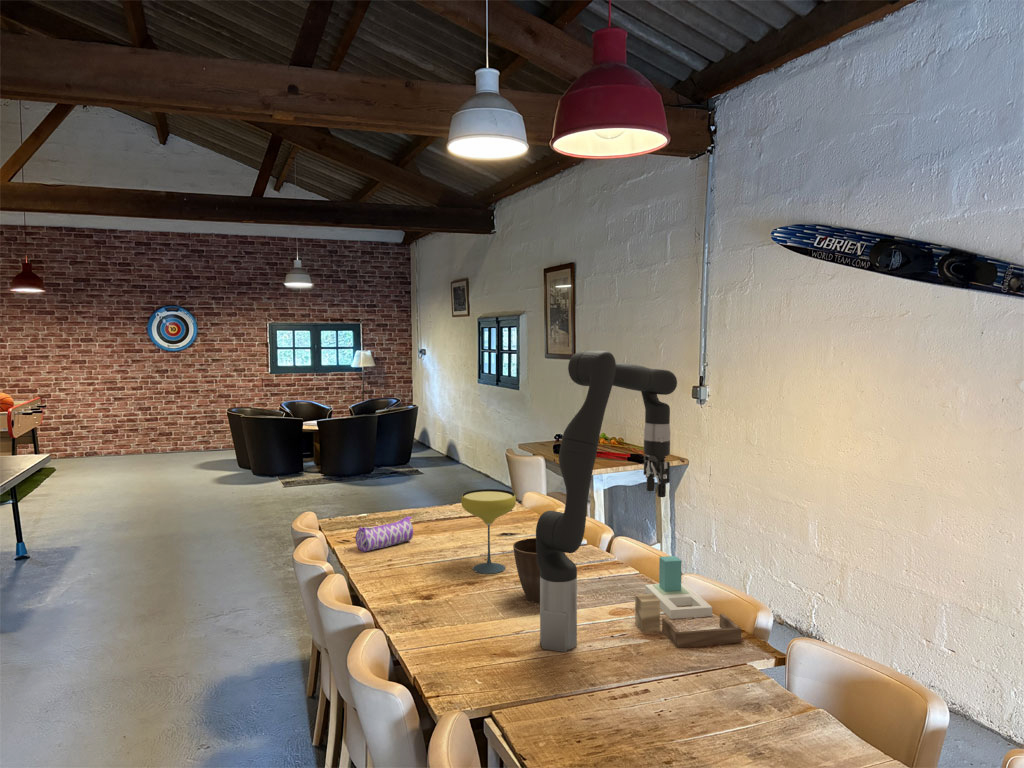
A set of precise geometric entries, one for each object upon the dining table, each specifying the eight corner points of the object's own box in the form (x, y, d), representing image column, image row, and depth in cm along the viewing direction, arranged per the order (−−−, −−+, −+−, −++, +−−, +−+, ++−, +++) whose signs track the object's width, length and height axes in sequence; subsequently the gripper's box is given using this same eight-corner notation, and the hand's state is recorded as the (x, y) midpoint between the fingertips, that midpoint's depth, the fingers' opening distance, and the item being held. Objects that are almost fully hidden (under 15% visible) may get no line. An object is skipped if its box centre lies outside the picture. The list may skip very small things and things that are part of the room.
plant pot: (560, 609, 197) (560, 554, 196) (508, 606, 200) (508, 551, 199) (566, 591, 212) (566, 539, 211) (518, 587, 215) (518, 536, 214)
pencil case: (365, 555, 249) (365, 529, 248) (351, 549, 255) (351, 524, 255) (416, 542, 264) (416, 518, 263) (402, 537, 271) (401, 513, 270)
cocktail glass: (518, 560, 241) (518, 489, 240) (513, 578, 223) (512, 501, 222) (466, 559, 243) (466, 488, 241) (457, 577, 225) (456, 500, 224)
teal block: (681, 590, 204) (681, 560, 204) (664, 591, 204) (665, 561, 203) (675, 585, 209) (675, 555, 208) (659, 586, 208) (659, 556, 207)
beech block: (659, 630, 183) (660, 600, 183) (641, 631, 183) (641, 601, 182) (652, 622, 188) (653, 593, 188) (635, 623, 188) (635, 594, 187)
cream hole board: (712, 616, 192) (712, 606, 192) (670, 619, 191) (670, 609, 190) (683, 590, 212) (683, 581, 212) (645, 592, 210) (645, 584, 210)
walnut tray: (741, 642, 176) (741, 628, 176) (677, 647, 173) (677, 633, 173) (723, 626, 186) (723, 613, 185) (662, 630, 183) (662, 617, 183)
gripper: (636, 435, 210) (635, 489, 210) (653, 441, 196) (652, 499, 196) (659, 435, 211) (658, 489, 212) (679, 441, 197) (677, 498, 198)
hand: (655, 493), depth 204 cm, fingers open, 8 cm apart
